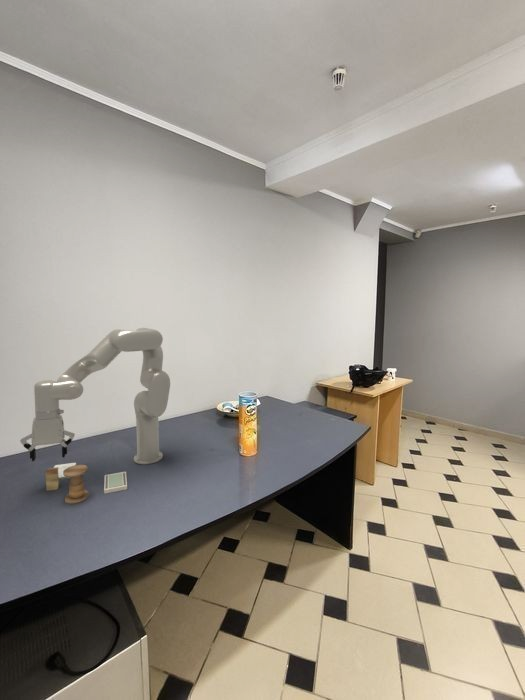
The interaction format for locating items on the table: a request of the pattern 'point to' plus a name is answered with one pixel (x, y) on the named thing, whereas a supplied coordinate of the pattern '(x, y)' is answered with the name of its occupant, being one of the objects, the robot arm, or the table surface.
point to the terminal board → (115, 482)
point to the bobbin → (76, 484)
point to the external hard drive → (62, 468)
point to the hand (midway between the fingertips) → (49, 457)
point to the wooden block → (52, 479)
